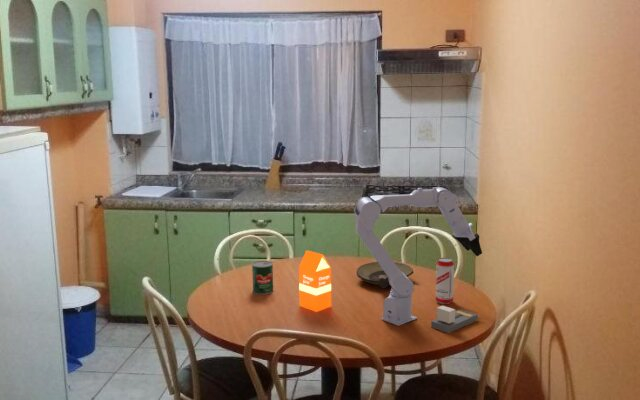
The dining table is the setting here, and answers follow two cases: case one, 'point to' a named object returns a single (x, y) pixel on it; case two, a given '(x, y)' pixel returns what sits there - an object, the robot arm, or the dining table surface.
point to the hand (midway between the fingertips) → (474, 251)
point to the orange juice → (314, 282)
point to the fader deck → (460, 320)
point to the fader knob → (445, 314)
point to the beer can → (444, 280)
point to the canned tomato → (262, 277)
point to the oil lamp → (379, 273)
